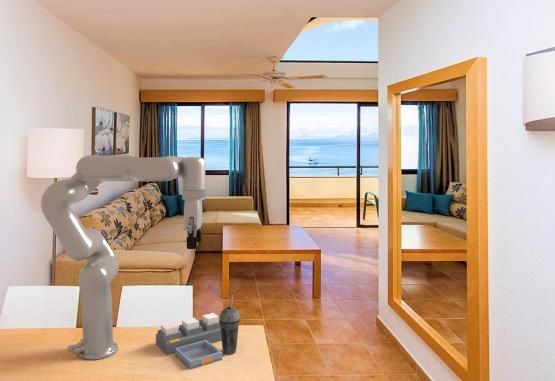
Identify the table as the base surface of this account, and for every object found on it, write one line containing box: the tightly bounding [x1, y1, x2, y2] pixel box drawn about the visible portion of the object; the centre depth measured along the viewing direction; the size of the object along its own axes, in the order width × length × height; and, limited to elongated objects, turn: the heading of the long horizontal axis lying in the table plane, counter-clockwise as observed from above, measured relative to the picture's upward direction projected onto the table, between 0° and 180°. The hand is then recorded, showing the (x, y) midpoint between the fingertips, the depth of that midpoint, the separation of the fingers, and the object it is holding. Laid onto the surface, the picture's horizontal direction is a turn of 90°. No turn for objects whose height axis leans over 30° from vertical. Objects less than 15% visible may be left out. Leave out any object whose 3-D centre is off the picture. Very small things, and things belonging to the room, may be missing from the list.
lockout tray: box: [174, 340, 223, 370], centre depth 155 cm, size 12×12×2 cm
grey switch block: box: [155, 312, 222, 356], centre depth 167 cm, size 22×10×8 cm, turn 126°
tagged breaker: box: [160, 322, 179, 336], centre depth 162 cm, size 4×4×2 cm
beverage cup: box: [219, 293, 241, 356], centre depth 159 cm, size 7×7×20 cm
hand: (194, 245), depth 156 cm, fingers open, 9 cm apart
